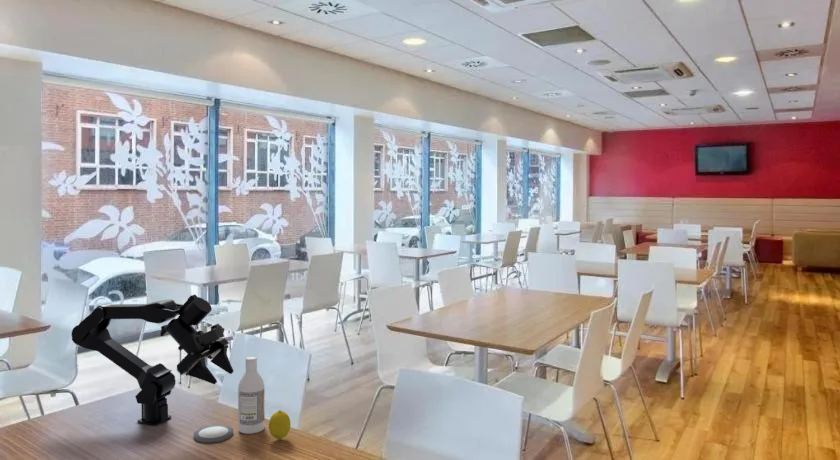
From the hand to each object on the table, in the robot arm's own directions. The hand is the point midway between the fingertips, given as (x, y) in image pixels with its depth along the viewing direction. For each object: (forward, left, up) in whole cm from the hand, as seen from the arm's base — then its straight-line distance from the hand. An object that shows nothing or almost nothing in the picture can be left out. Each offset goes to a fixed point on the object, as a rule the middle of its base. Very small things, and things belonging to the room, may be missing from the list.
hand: (224, 377), depth 166 cm
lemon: (+19, -2, -14) cm, 24 cm away
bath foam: (+8, +1, -14) cm, 16 cm away
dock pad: (+1, -6, -14) cm, 15 cm away
